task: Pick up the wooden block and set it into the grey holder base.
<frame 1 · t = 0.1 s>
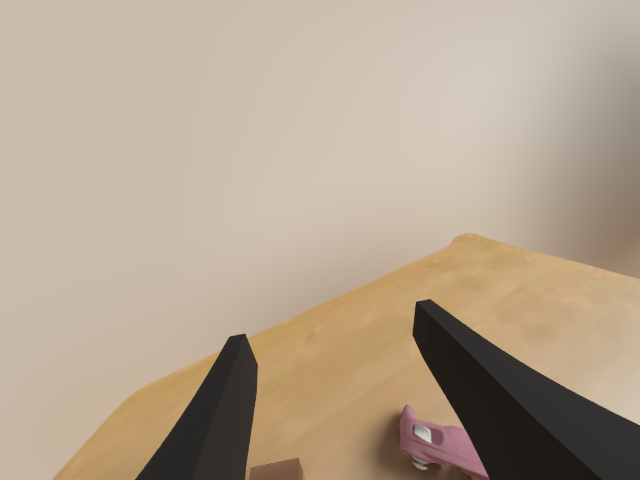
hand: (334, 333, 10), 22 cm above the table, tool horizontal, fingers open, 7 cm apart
video game controller: (452, 461, 22), on the table
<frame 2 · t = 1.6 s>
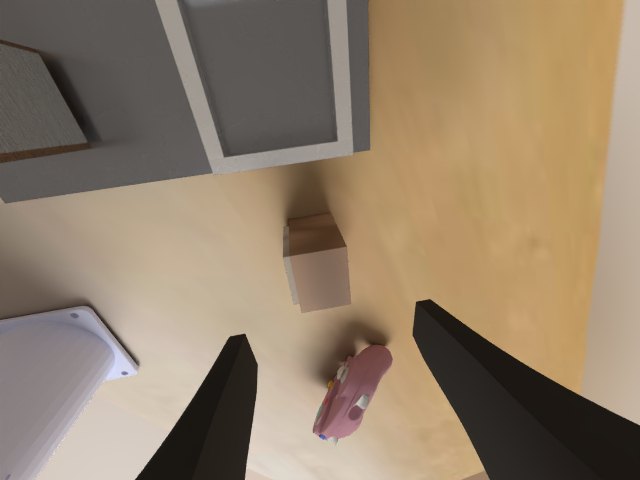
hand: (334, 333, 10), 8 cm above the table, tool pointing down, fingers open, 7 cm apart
video game controller: (345, 366, 25), on the table
wooden block: (313, 240, 17), on the table
grey holder base: (175, 93, 12), on the table
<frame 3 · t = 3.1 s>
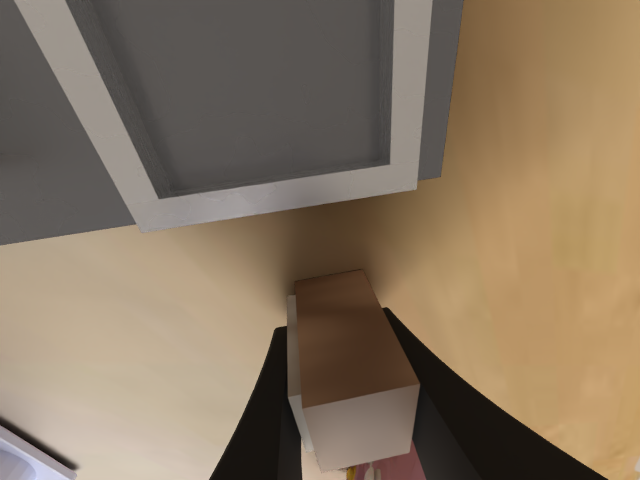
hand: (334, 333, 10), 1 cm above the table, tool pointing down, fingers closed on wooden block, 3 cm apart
video game controller: (368, 446, 19), on the table
wooden block: (332, 308, 11), on the table, touching gripper
grey holder base: (60, 67, 6), on the table
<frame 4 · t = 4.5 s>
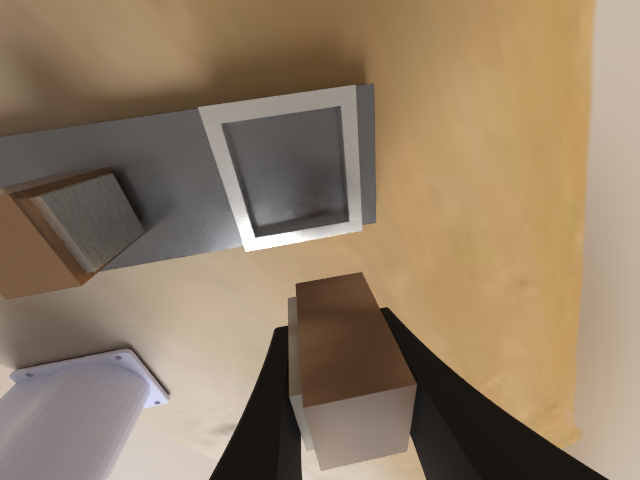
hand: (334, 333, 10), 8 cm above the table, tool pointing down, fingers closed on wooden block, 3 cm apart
wooden block: (332, 310, 11), point 7 cm above the table, touching gripper
grey holder base: (213, 184, 14), on the table
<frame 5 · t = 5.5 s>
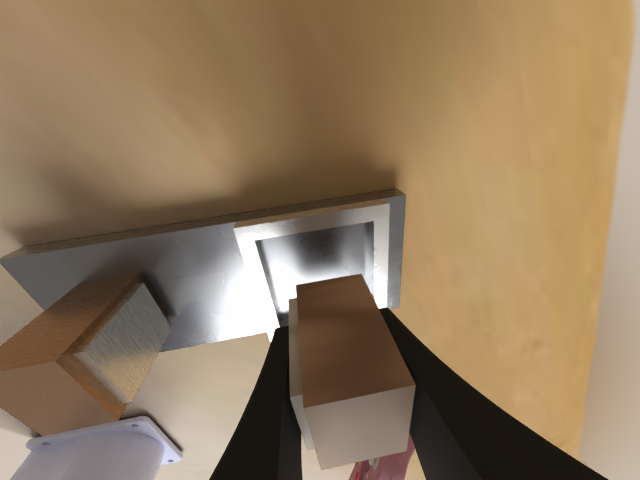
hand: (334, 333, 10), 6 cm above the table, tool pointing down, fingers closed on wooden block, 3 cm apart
video game controller: (371, 439, 28), on the table
wooden block: (333, 311, 11), point 4 cm above the table, touching gripper
grey holder base: (239, 275, 14), on the table
when the fingers open (4 cm above the table, at t = 6.3 s): wooden block stays where it is, resting on grey holder base.
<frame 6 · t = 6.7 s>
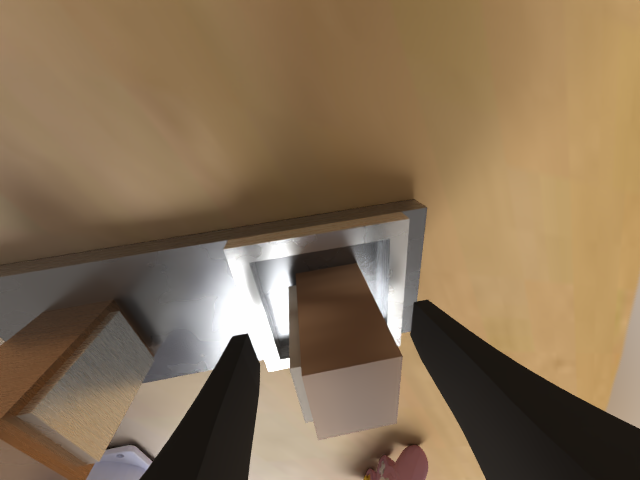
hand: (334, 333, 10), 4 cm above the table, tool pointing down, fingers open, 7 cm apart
video game controller: (379, 460, 26), on the table
wooden block: (330, 299, 12), point 1 cm above the table, touching grey holder base
grey holder base: (232, 297, 13), on the table
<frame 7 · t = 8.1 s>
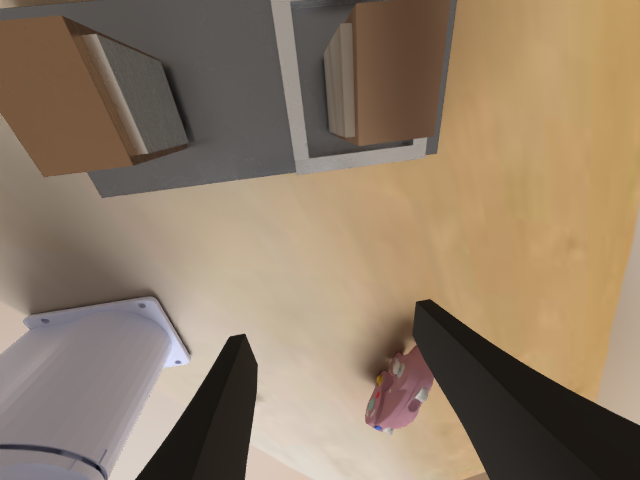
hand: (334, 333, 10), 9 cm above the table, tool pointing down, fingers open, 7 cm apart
video game controller: (391, 363, 27), on the table
wooden block: (360, 92, 12), point 1 cm above the table, touching grey holder base
grey holder base: (263, 98, 13), on the table
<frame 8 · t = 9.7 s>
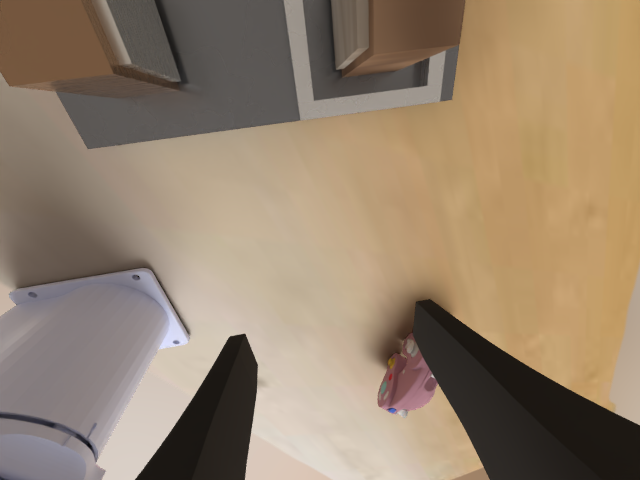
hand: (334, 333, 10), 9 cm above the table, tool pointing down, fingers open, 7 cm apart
video game controller: (403, 345, 26), on the table
wooden block: (369, 24, 11), point 1 cm above the table, touching grey holder base
grey holder base: (262, 35, 12), on the table
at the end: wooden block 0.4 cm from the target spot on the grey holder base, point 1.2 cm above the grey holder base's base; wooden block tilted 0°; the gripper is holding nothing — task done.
